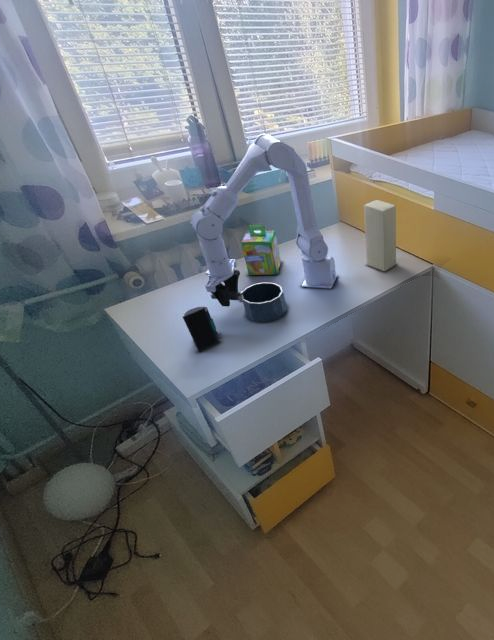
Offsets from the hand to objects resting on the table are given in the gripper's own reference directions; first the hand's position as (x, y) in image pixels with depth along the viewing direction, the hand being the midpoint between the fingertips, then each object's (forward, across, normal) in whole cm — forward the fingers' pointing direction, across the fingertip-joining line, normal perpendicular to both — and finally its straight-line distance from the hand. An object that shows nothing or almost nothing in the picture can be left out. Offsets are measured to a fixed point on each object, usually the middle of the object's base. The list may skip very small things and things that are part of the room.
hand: (230, 300), depth 122 cm
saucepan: (+3, 0, +5) cm, 6 cm away
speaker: (+3, +15, -1) cm, 15 cm away
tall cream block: (+3, -32, +39) cm, 51 cm away
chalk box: (+3, -24, +1) cm, 24 cm away
